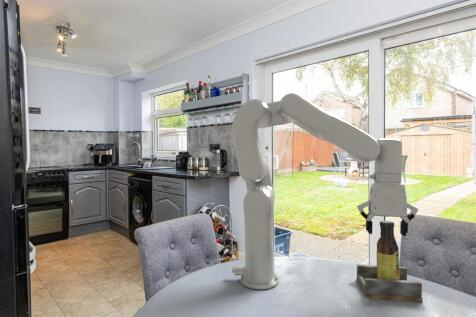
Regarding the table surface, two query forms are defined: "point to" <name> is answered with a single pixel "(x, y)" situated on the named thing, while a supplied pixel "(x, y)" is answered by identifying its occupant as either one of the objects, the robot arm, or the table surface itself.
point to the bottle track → (388, 285)
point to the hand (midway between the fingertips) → (386, 234)
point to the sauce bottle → (387, 253)
